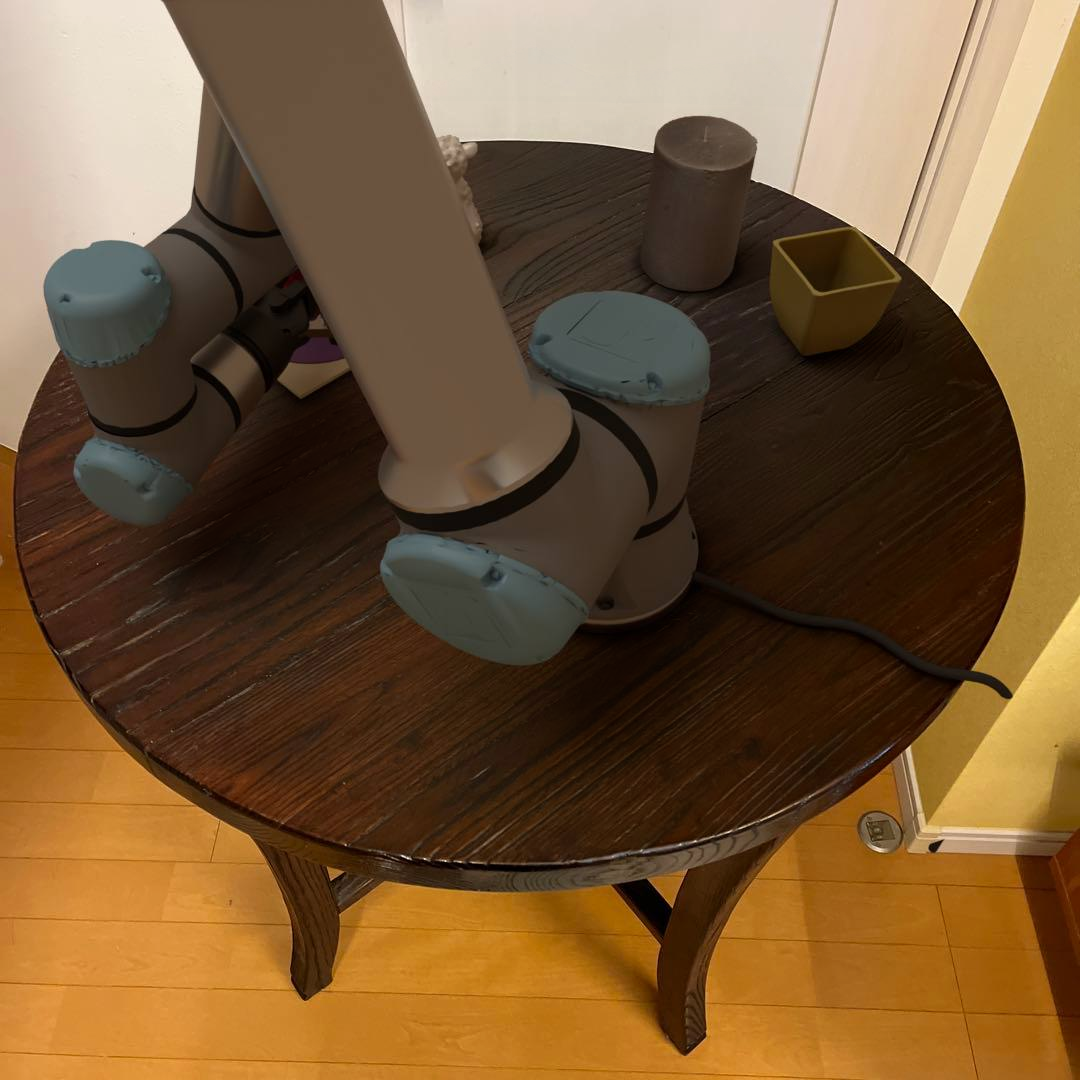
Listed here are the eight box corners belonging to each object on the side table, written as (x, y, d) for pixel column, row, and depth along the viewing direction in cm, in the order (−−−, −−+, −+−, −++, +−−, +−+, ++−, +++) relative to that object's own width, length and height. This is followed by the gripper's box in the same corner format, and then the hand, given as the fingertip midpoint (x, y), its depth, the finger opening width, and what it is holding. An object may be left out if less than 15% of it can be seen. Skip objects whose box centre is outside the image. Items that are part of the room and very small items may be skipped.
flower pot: (833, 301, 107) (855, 223, 100) (877, 356, 101) (904, 278, 94) (753, 317, 105) (771, 239, 98) (794, 374, 99) (815, 296, 92)
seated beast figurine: (457, 205, 116) (453, 99, 107) (509, 240, 112) (510, 134, 103) (387, 238, 112) (376, 131, 102) (439, 276, 108) (433, 169, 98)
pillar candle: (627, 243, 112) (641, 107, 100) (714, 231, 114) (737, 96, 102) (658, 299, 106) (676, 162, 95) (749, 285, 108) (777, 149, 96)
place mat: (426, 325, 103) (426, 320, 102) (300, 399, 96) (299, 394, 95) (323, 253, 110) (322, 248, 109) (199, 317, 103) (197, 312, 102)
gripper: (149, 375, 89) (285, 224, 103) (324, 424, 86) (439, 262, 100) (125, 302, 83) (272, 153, 98) (312, 353, 80) (435, 191, 95)
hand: (356, 208), depth 99 cm, fingers closed on plastic cup, 3 cm apart
